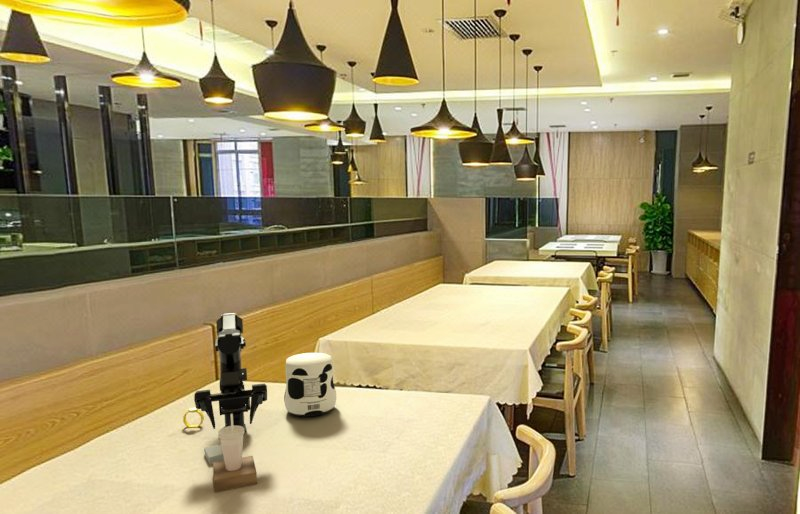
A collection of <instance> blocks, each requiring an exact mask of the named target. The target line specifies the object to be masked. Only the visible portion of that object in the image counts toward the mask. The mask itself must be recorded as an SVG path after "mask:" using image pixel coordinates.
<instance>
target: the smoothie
mask: <svg viewBox="0 0 800 514" xmlns="http://www.w3.org/2000/svg"><path fill="white" fill-rule="evenodd" d="M217 432H218V433H217V434H218V435H217V436H218V438H219V441H220V444H221V446H222V451H223V456H224V461H225V466H226V470H228V471H234V470H237V469H239V468H240V467H241V461H242V457H243V446H244V445H243V443H244V434H245V433H246V432H245V431H244V427H242V426H237V425H235V426H233V414H231V426H228V427H225V426H223V427H222V428H220V429H219V430H218V431H217Z"/></svg>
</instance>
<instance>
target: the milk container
mask: <svg viewBox="0 0 800 514" xmlns="http://www.w3.org/2000/svg"><path fill="white" fill-rule="evenodd" d="M333 374H334V369H333V359H332V355H330V354H328V353H324V352H305V353H299V354H294V355H291V356H288V358H286V360H285V381H286V383H285V384H286V385H285V390H284V391H285V392H284V397H283V399H284V400H283V401H284V407H285V409H286V411H287V412H288V413H290V414H291V415H294V416H298V417H315V416H321V415H323V414H326V413H328V412H330V411H332V410H333V409H334V408H335V406H336V405H337V404H336V403H337V390H336V387H335V383H334V375H333Z"/></svg>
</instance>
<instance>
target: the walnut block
mask: <svg viewBox="0 0 800 514" xmlns="http://www.w3.org/2000/svg"><path fill="white" fill-rule="evenodd" d="M212 468H213V469H212V471H213V474H212V475H213V488H214V490H213V491H214V493H217V492H223V491H228V490H232V489H237V488H242V487H248V486H253V485H258V480H257V479H258V475H257V467H256V464H255V460H254V456H253V455H249V456H248V455H247V456H244V457H243V456H242V461H241V467H240V468H239V469H237V470H234V471H228V470H226V466H225V461H219V462H214V463H213V464H212Z"/></svg>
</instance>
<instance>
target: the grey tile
mask: <svg viewBox="0 0 800 514" xmlns="http://www.w3.org/2000/svg"><path fill="white" fill-rule="evenodd" d="M203 451H204V452H203V453H204V456H205V458H206V461H207V462H208V464H209V465H213V463H214V462H219V461H224V456H223V451H222V446H221V443H219V444H215V445H211V446H206V447H204V448H203Z"/></svg>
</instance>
